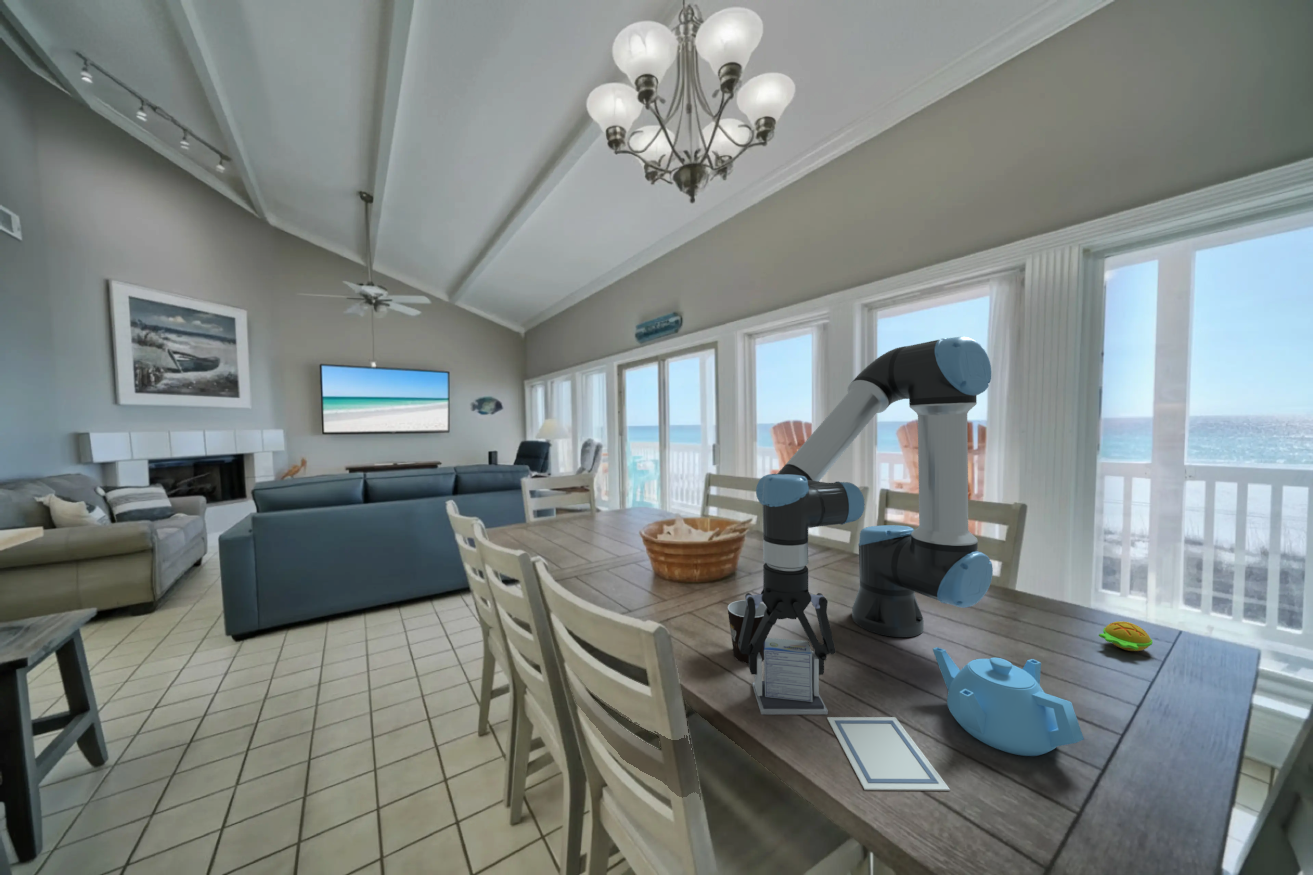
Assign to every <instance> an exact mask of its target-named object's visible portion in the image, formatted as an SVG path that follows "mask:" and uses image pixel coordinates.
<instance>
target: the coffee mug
mask: <svg viewBox="0 0 1313 875" xmlns="http://www.w3.org/2000/svg"><path fill="white" fill-rule="evenodd" d="M766 608H767V607H766V605H765V604H764V603H763V602H760V604H759V607H758V608H757V609H756V614H755V619H754V623H753V627H752V632H751V636H750V641H749V644H750V642H751V640H752V638H753V636H754V634H755V632H756V630H757V628H758V626H759V624H760V622H761V620H762V618H763V616H764V612H765V610H766ZM745 610H746V599H741V600H736V601H732V602H730V603H729V604H728V605H727V615H728V622H729V629H730V637H731V642H732V643H731V644H732V651H733V657H734V658H735V659H736V660H737V661H739V662H741V663H744V664H748V665H749V655H747V654H742V653H741V652H740V649H739V646H738V641H739V637H740V632H741V628H742V624H743V619H744V615H745ZM759 653H760V655H761V658H762V662H764V644H763V646H762V648H761V650H760V651H759Z"/></svg>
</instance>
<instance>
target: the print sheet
mask: <svg viewBox="0 0 1313 875" xmlns="http://www.w3.org/2000/svg"><path fill="white" fill-rule="evenodd" d="M826 718H827V721H828V724H829V725H830V727H831V729H832V730H833V732H834V735H835V736H836V738H837V740H838V742H839V744H840V746H841V748H842V750H843V752H844V754H845V755H846V757H847V759H848V761H849V763H850V765H851V767H852V769H853V771H854V772H855V774H856V776H857V778H858V780H859V783H860V784H861V786H862V788H863V789H864V791H939V792H940V791H942V792H943V791H946V792H947V791H949V792H950V791H951V789H950V787H949V786H948V785H947V783H946V782H945V781H944V779H943V778H942V776H941V775H940V773H938V771H937V770H936V769H935V767H934V766H933V765H932V763H931V762H930V761H929V759H928V758H927V757H926V755H924V753H923V751H922V750H921V749H920V748H919V747H918V745H917V744H916V742H915V741H914V739H912V737H911V736H910V735H909V733H908V731H906V730H905V728H904V727H903V725H902V723H900V721H899V719H897V717H895V716H892V717H891V716H881V717H880V716H878V717H877V716H876V717H875V716H870V717H867V716H866V717H865V716H857V717H856V716H855V717H854V716H852V717H851V716H848V717H847V716H845V717H844V716H840V717H839V716H837V717H836V716H835V717H834V716H832V717H831V716H828V717H826Z"/></svg>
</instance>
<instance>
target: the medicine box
mask: <svg viewBox="0 0 1313 875" xmlns="http://www.w3.org/2000/svg"><path fill="white" fill-rule="evenodd" d="M811 651H812V649H811V646H810V641H809V640H799V639H797V640H796V639H786V638H773V637H767V638H766V640H765V642H764V660H763V666H764V667H763V671H764V674H763V675H764V677H763V678H764V681H765V697H770V698H779V699H789V700H798V701H807V702H813V700H812V653H811Z"/></svg>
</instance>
